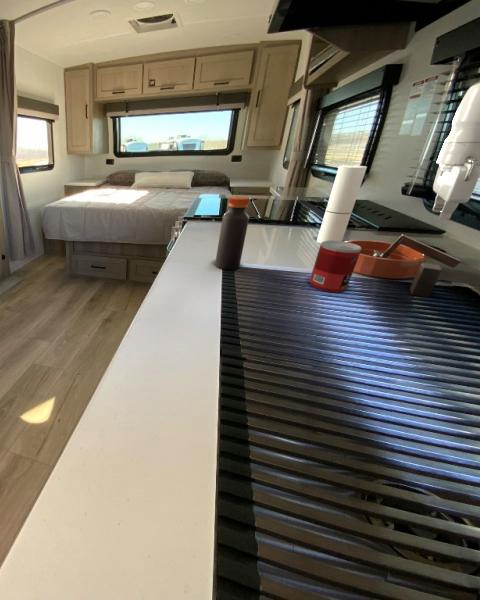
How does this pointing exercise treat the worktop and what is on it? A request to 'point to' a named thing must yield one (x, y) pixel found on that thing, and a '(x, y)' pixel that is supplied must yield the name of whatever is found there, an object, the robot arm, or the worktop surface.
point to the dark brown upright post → (425, 279)
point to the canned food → (334, 265)
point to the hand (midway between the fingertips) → (440, 215)
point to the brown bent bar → (420, 248)
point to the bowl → (387, 260)
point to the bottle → (232, 234)
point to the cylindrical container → (341, 203)
